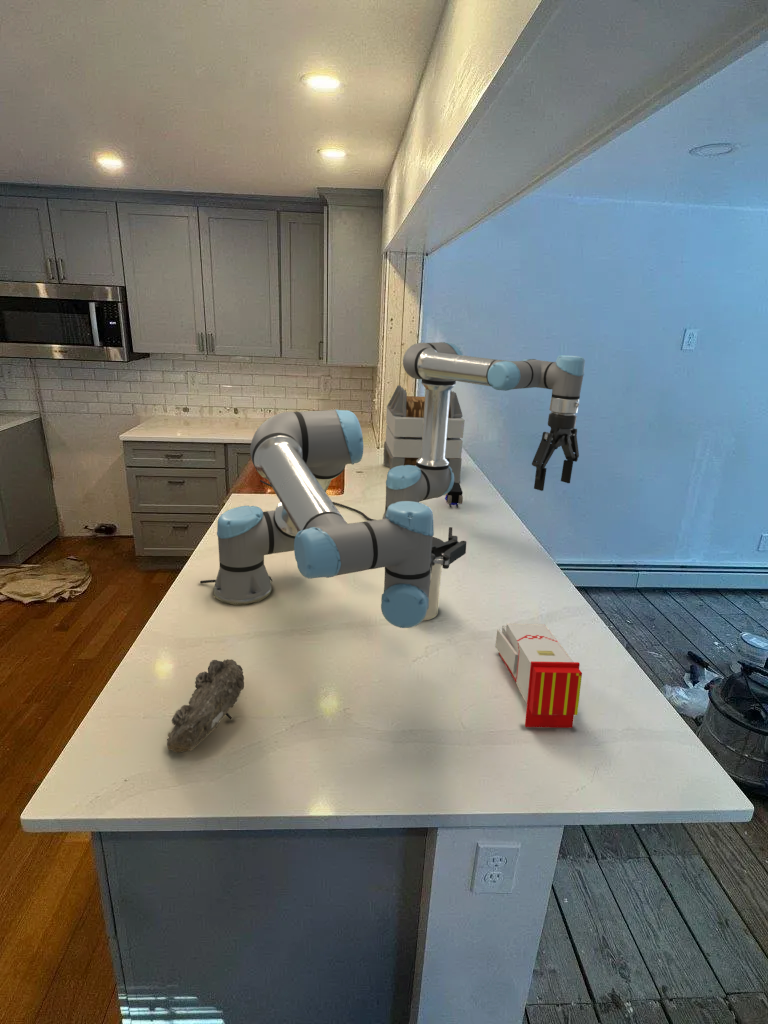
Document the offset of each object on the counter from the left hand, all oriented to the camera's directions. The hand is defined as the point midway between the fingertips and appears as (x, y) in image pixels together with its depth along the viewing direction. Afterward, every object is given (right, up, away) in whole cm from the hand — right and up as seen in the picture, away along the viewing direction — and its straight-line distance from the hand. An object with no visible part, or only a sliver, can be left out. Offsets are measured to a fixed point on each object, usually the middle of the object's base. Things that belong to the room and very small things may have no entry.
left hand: (419, 530), depth 124 cm
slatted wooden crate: (+10, +23, +151) cm, 153 cm away
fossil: (-40, -35, -16) cm, 56 cm away
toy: (+24, -33, -2) cm, 41 cm away
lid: (+2, -4, +20) cm, 20 cm away
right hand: (+41, +12, +42) cm, 60 cm away
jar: (+1, -22, +26) cm, 34 cm away
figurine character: (+21, +7, +110) cm, 112 cm away
